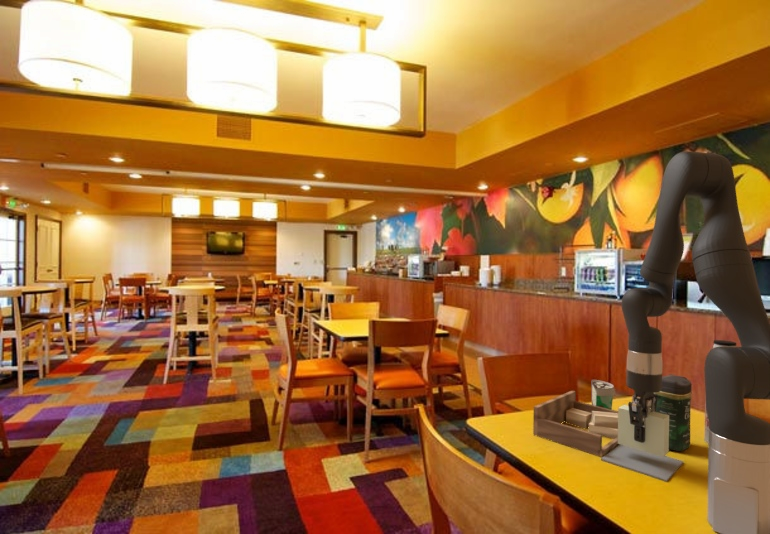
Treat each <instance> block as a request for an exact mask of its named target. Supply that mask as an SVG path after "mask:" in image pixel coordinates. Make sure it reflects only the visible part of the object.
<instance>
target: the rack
mask: <svg viewBox="0 0 770 534" xmlns="http://www.w3.org/2000/svg"><path fill="white" fill-rule="evenodd" d="M576 395H577V394H576V391H575V390H570V391H567V392H566V393H565V392H564V393H563V394H560V395H558V396H556V397H554V398H551V399H548V400H546V401H544V402H542V403H539V404H537V405H534V406H533V418H532V419H533V420H532V421H533V423H532V424H533V426H532V427H533V429H532V433H533V434H534V435H533V434H532V435H533V436H535V435H537V436H536V437H538V436H539V438H541V437H543V438H542V439H544V438H546V439H545V440H547V439H549V440H548V441H550V440H552V441H551V442H554V441H555V442H554V443H557V442H558V443H557V444H559V445H563V446H566V447H569V448H573V449H576V450H578V451H582V452H585V453H587V454H588V453H589V454H591V455H594V456H598V457H600V458H602V457H604V456H605V455H606V454H608V453H609V452H610V451H612V450H613V449H614V448H616V447H617V446H619V445H620V444H618V437H616V438H615V439H611V441H609V442H608V443H606V444H605V445H603V443H602V442H603V439H602V438H603V436H602V435H599V434H595V433H592V432H588V431H589V430H586V429H581V428H579V427H575V426H572V425H569V424H568V425H567V424H564V423H565V422H564V421H566V411H567V410H569V409H571V408H575V409H578V410H582V411H586V412H589V413H592V411H599V412H610V413H618V410H616V409H615V410H614V409H612V410H611V409H607V408H603V407H599V406H595V405H592V404H590V403H586V402H581V401H579V400H578V401H577V400H576ZM562 422H564V423H562ZM561 423H562V424H561Z"/></svg>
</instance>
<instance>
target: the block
mask: <svg viewBox="0 0 770 534" xmlns="http://www.w3.org/2000/svg"><path fill="white" fill-rule="evenodd" d="M617 411H618V444H621V445H624V446H627V447H631V448H634V449H637V450H641V451H644V452H647V453H651V454H654V455H657V456H661V457H664V456H667V455H668V454H669V451H670V450H669V415H666V414H662V413H658V412H651V411H649V415H648V418H646V426H645V442H643V443H641V442H638V441H635V440H634V425H633V424H630V415H629V406H628V404H623V405H621V406H619V407H618V409H617ZM642 414H645V413H644V412H642ZM637 420H638V421H639V419H638V418H637Z"/></svg>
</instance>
